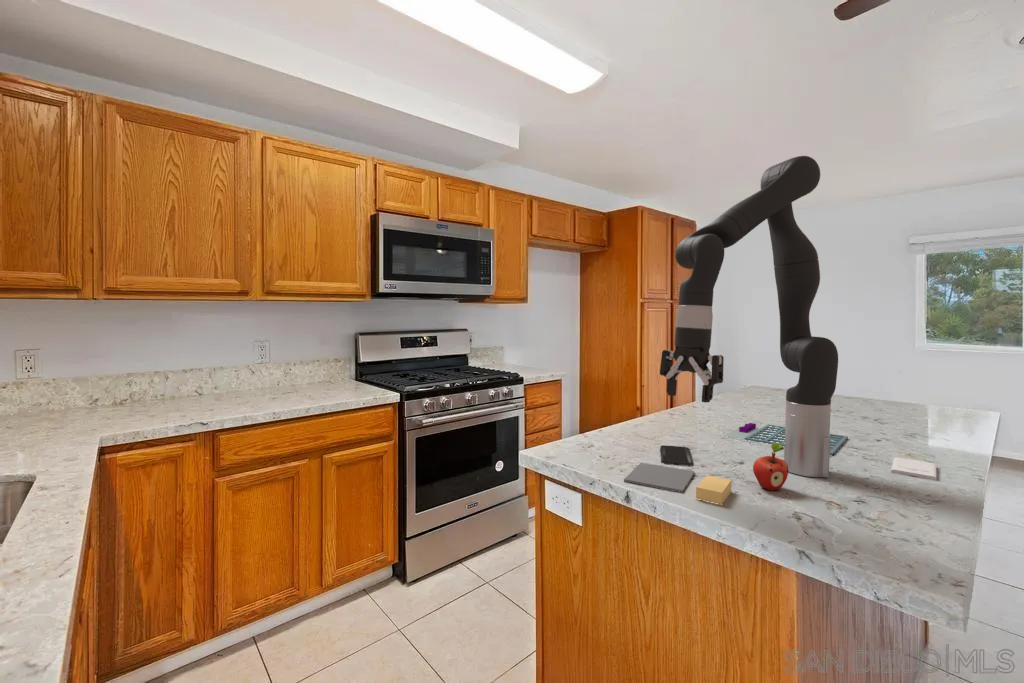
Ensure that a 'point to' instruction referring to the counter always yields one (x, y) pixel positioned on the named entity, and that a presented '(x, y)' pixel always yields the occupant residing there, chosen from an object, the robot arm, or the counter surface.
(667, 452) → the phone
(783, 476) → the apple
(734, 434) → the calendar
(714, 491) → the card box
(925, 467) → the external hard drive
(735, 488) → the counter surface
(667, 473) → the mat
